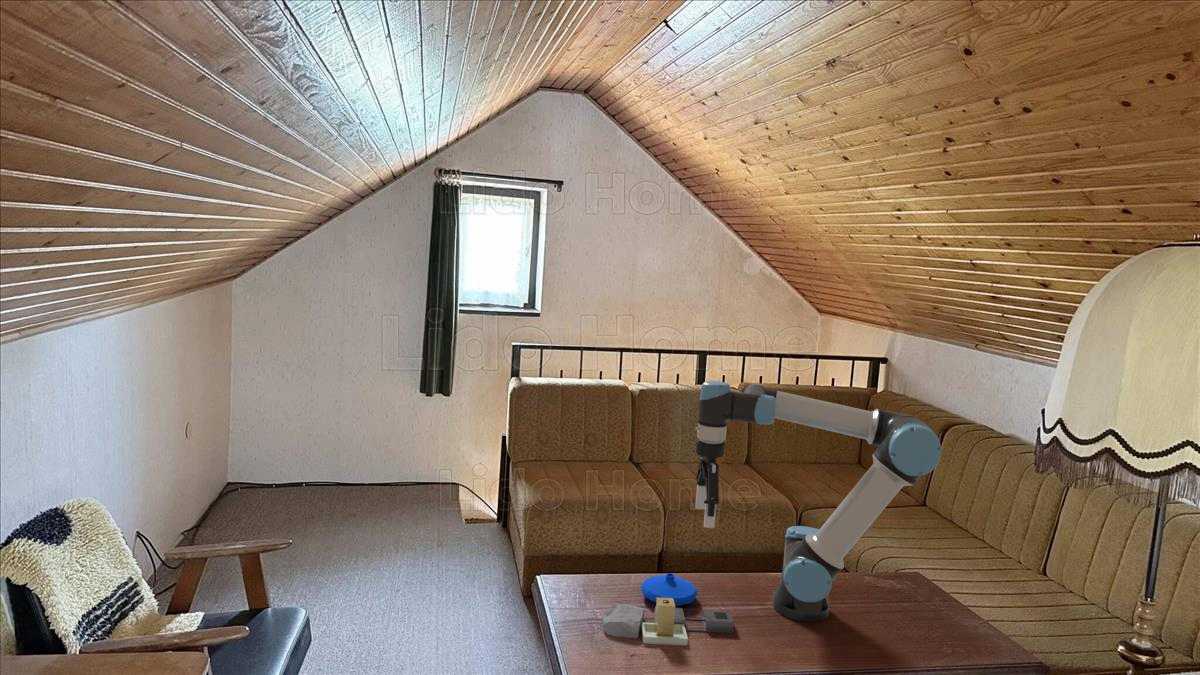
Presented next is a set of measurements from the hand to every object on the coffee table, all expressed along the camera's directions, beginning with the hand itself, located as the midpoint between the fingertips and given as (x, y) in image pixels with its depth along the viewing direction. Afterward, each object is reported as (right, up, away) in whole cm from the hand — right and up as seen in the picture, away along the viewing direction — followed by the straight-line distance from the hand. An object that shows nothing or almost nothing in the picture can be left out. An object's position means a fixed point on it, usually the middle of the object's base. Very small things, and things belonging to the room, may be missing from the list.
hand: (704, 517), depth 193 cm
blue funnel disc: (-9, -26, +10) cm, 29 cm away
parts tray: (-12, -27, -11) cm, 32 cm away
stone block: (-22, -27, -6) cm, 35 cm away
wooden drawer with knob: (-12, -27, -11) cm, 31 cm away
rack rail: (-3, -27, -4) cm, 28 cm away
